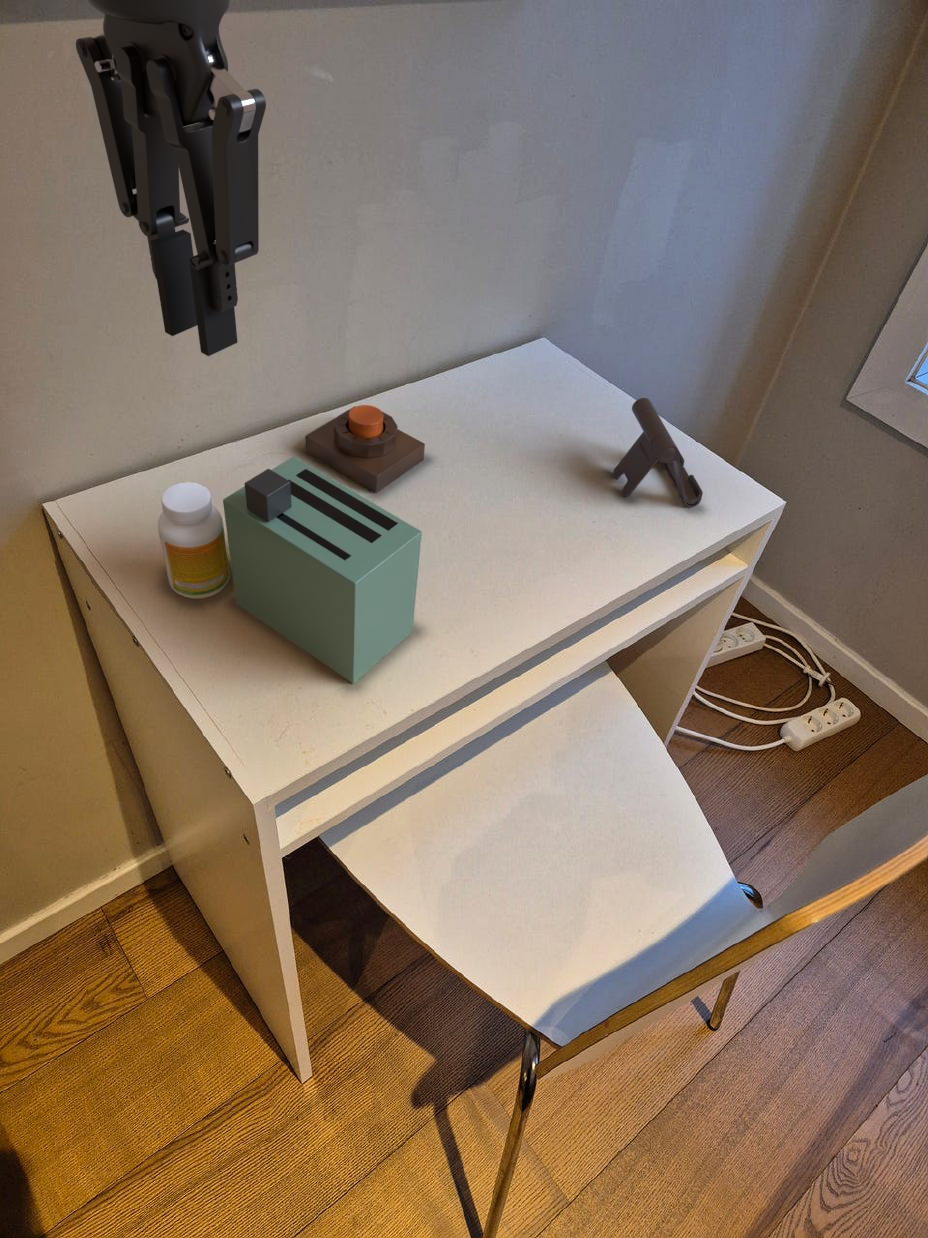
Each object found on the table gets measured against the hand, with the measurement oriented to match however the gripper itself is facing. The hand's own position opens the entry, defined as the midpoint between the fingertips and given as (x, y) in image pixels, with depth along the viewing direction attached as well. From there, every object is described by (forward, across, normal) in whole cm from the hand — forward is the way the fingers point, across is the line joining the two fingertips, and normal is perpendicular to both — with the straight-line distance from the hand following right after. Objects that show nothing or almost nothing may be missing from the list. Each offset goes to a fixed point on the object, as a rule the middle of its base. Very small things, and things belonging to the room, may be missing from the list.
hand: (201, 336), depth 61 cm
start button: (+21, +4, -23) cm, 31 cm away
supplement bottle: (+25, +2, +2) cm, 25 cm away
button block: (+25, +4, -23) cm, 34 cm away
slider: (+12, -6, 0) cm, 14 cm away
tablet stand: (+25, -22, -41) cm, 53 cm away
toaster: (+25, -9, -2) cm, 26 cm away
